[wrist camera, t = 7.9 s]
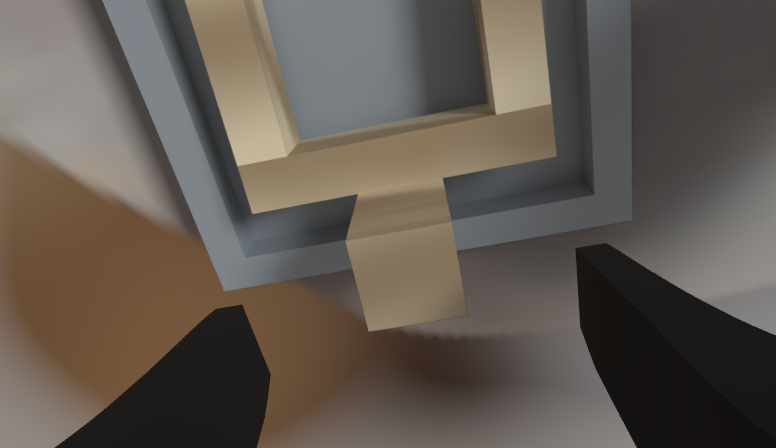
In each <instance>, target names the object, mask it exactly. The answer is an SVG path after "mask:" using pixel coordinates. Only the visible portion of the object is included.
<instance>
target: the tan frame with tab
mask: <svg viewBox="0 0 776 448" xmlns="http://www.w3.org/2000/svg"><path fill="white" fill-rule="evenodd" d="M185 3H186V6H187V9H188V12H189V15H190V18H191V21H192V25H193V28H194V31H195V34H196V37H197V40H198V44H199V47H200V50H201V53H202V56H203V59H204V62H205V66H206V69H207V72H208V75H209V78H210V81H211V85H212V88H213V91H214V94H215V97H216V100H217V104H218V107H219V110H220V113H221V116H222V119H223V122H224V126H225V129H226V132H227V135H228V138H229V141H230V145H231V148H232V151H233V154H234V157H235V160H236V163H237V167H238V170H239V173H240V176H241V179H242V182H243V186H244V189H245V192H246V195H247V198H248V201H249V204H250V208H251V211H252V214H255V213H260V212H266V211H271V210H276V209H282V208H287V207H292V206H298V205H303V204H308V203H313V202H319V201H324V200H329V199H335V198H340V197H345V196H350V195H356V194H358V197H357V200H356V204H355V208H354V211H353V215H352V219H351V223H350V226H349V230H348V234H347V237H346V245H347V249H348V253H349V257H350V261H351V265H352V269H353V273H354V276H355V280H356V284H357V288H358V292H359V296H360V300H361V304H362V308H363V312H364V315H365V319H366V323H367V327H368V331H369V332H370V331H376V330H382V329H389V328H395V327H401V326H407V325H413V324H420V323H426V322H432V321H438V320H444V319H451V318H457V317H463V316H468V311H467V306H466V300H465V295H464V289H463V283H462V278H461V272H460V267H459V261H458V255H457V250H456V244H455V239H454V233H453V227H452V222H451V217H450V212H449V207H448V202H447V197H446V192H445V187H444V182H443V178H446V177H451V176H456V175H461V174H467V173H472V172H477V171H483V170H488V169H493V168H498V167H504V166H509V165H514V164H520V163H525V162H530V161H536V160H541V159H546V158H551V157H557V155H556V145H555V135H554V125H553V115H552V105H551V95H550V85H549V75H548V65H547V55H546V45H545V35H544V25H543V15H542V5H541V0H472V4H473V11H474V18H475V25H476V32H477V39H478V46H479V53H480V60H481V67H482V74H483V81H484V88H485V95H486V102H487V103H484V104H479V105H474V106H469V107H464V108H460V109H455V110H450V111H445V112H440V113H435V114H430V115H425V116H420V117H415V118H410V119H405V120H400V121H395V122H390V123H385V124H380V125H375V126H370V127H366V128H361V129H356V130H351V131H346V132H341V133H336V134H331V135H326V136H321V137H316V138H311V139H306V140H301V141H300V139H299V135H298V132H297V128H296V124H295V121H294V117H293V113H292V110H291V106H290V102H289V98H288V95H287V91H286V87H285V84H284V80H283V76H282V73H281V69H280V65H279V61H278V58H277V54H276V50H275V47H274V43H273V39H272V36H271V32H270V28H269V24H268V21H267V17H266V13H265V10H264V6H263V2H262V0H185Z"/></svg>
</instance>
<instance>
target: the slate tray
mask: <svg viewBox="0 0 776 448" xmlns="http://www.w3.org/2000/svg"><path fill="white" fill-rule="evenodd" d="M102 1H103V4H104V6H105V8H106V11H107V13H108V16H109V18H110V20H111V23H112V25H113V27H114V30H115V32H116V35H117V37H118V39H119V42H120V44H121V47H122V49H123V51H124V54H125V56H126V58H127V61H128V63H129V66H130V68H131V70H132V73H133V75H134V77H135V80H136V82H137V85H138V87H139V89H140V92H141V94H142V97H143V99H144V101H145V104H146V106H147V108H148V111H149V113H150V116H151V118H152V120H153V123H154V125H155V128H156V130H157V132H158V135H159V137H160V139H161V142H162V144H163V147H164V149H165V151H166V154H167V156H168V159H169V161H170V163H171V166H172V168H173V170H174V173H175V175H176V178H177V180H178V182H179V185H180V187H181V189H182V192H183V194H184V197H185V199H186V201H187V204H188V206H189V209H190V211H191V213H192V216H193V218H194V220H195V223H196V225H197V228H198V230H199V232H200V235H201V237H202V240H203V242H204V244H205V247H206V249H207V251H208V254H209V256H210V258H211V261H212V263H213V266H214V268H215V270H216V273H217V275H218V278H219V280H220V282H221V285H222V287H223V289H224V291H230V290H236V289H242V288H247V287H253V286H259V285H264V284H270V283H276V282H282V281H288V280H294V279H299V278H305V277H311V276H317V275H322V274H328V273H334V272H340V271H345V270H351V269H352V265H351V261H350V257H349V253H348V249H347V245H346V237H347V234H348V230H349V226H350V223H351V219H352V215H353V211H354V208H355V204H356V200H357V197H358V194H356V195H350V196H345V197H340V198H335V199H329V200H324V201H319V202H313V203H308V204H303V205H298V206H292V207H287V208H282V209H276V210H271V211H266V212H260V213H255V214H252V211H251V208H250V204H249V201H248V198H247V195H246V192H245V189H244V186H243V182H242V179H241V176H240V173H239V170H238V167H237V163H236V160H235V157H234V154H233V151H232V148H231V145H230V141H229V138H228V135H227V132H226V129H225V126H224V122H223V119H222V116H221V113H220V110H219V107H218V104H217V100H216V97H215V94H214V91H213V88H212V85H211V81H210V78H209V75H208V72H207V69H206V66H205V62H204V59H203V56H202V53H201V50H200V47H199V44H198V40H197V37H196V34H195V31H194V28H193V25H192V21H191V18H190V15H189V12H188V9H187V6H186V3H185V0H102ZM262 2H263V6H264V10H265V13H266V17H267V21H268V24H269V28H270V32H271V36H272V39H273V43H274V47H275V50H276V54H277V58H278V61H279V65H280V69H281V73H282V76H283V80H284V84H285V87H286V91H287V95H288V98H289V102H290V106H291V110H292V113H293V117H294V121H295V124H296V128H297V132H298V135H299V139H300V141H301V140H306V139H311V138H316V137H321V136H326V135H331V134H336V133H341V132H346V131H351V130H356V129H361V128H366V127H370V126H375V125H380V124H385V123H390V122H395V121H400V120H405V119H410V118H415V117H420V116H425V115H430V114H435V113H440V112H445V111H450V110H455V109H460V108H464V107H469V106H474V105H479V104H484V103H487V102H486V95H485V88H484V81H483V74H482V67H481V60H480V53H479V46H478V39H477V32H476V25H475V18H474V11H473V4H472V0H262ZM541 5H542V15H543V25H544V35H545V45H546V55H547V65H548V75H549V85H550V95H551V105H552V115H553V125H554V135H555V145H556V155H557V157H551V158H546V159H541V160H536V161H530V162H525V163H520V164H514V165H509V166H504V167H498V168H493V169H488V170H483V171H477V172H472V173H467V174H461V175H456V176H451V177H446V178H443V182H444V187H445V192H446V197H447V202H448V207H449V212H450V217H451V222H452V227H453V233H454V239H455V244H456V250H457V251H460V250H466V249H472V248H477V247H483V246H489V245H495V244H500V243H506V242H512V241H518V240H523V239H529V238H535V237H541V236H546V235H552V234H558V233H563V232H569V231H575V230H581V229H586V228H592V227H598V226H604V225H609V224H615V223H621V222H627V221H632V78H631V0H541Z"/></svg>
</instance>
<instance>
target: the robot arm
mask: <svg viewBox="0 0 776 448" xmlns="http://www.w3.org/2000/svg"><path fill="white" fill-rule="evenodd" d="M576 264H577V280H578V296H579V312H580V327H581V330H582V333H583V336H584V338H585V341H586V343H587V347H588V349H589V352H590V355H591V357H592V360H593V363H594V365H595V368H596V370H597V372H598V374H599V376H600V378H601V380H602V382H603V384H604V386H605V388H606V390H607V392H608V394H609V396H610V398H611V399H612V401H613V403H614V405H615V407H616V409H617V411H618V413H619V415H620V417H621V418H622V420H623V422H624V424H625V426H626V428H627V430H628V432H629V434H630V436H631V437H632V439H633V441H634V443H635V445H636V447H637V448H776V335H773V334H771V333H768V332H766V331H763V330H761V329H759V328H757V327H754V326H752V325H750V324H748V323H746V322H743V321H741V320H739V319H737V318H735V317H733V316H731V315H729V314H727V313H725V312H723V311H721V310H719V309H717V308H715V307H713V306H711V305H709V304H707V303H706V302H704V301H702V300H700V299H698V298H696V297H694V296H693V295H691V294H689V293H687V292H685V291H684V290H682V289H680V288H678V287H677V286H675V285H673V284H671V283H670V282H668V281H666V280H665V279H663V278H661V277H660V276H658V275H656V274H655V273H653V272H652V271H650V270H648V269H647V268H645V267H644V266H642V265H640V264H639V263H637V262H636V261H634V260H632V259H631V258H629V257H628V256H626V255H625V254H623V253H621V252H620V251H618V250H617V249H615V248H613V247H612V246H610V245H608V244H607V243H604V244H598V245H592V246H586V247H580V248H576ZM269 383H270V372H269V369H268V367H267V365H266V362H265V360H264V357H263V355H262V352H261V350H260V347H259V345H258V343H257V340H256V338H255V335H254V333H253V330H252V328H251V326H250V323H249V320H248V318H247V315H246V313H245V311H244V308H243V306H242V305H237V306H231V307H225V308H219V309H215V310H214V311H213V312H212V313H210V314H209V315H208V316H207V317H206V318H204V319H203V320H202V321H201V322H200V323H199V324H198V325H197V326H196V327H195V328H193V330H191V331H190V332H189V333H188V334H187V335H186V336H185V337H184V338H183V339H182V340H181V341H180V342H179V343H178V344H177V345H176V346H174V347H173V348H172V349H171V350H170V351H169V352H168V353H167V354H166V355H165V356H164V357H163V358H162V359H161V360H160V361H159V362H158V363H156V365H154V366H153V367H152V368H151V369H150V370H149V371H148V372H147V373H146V374H145V375H143V376H142V377H141V378H140V379H139V380H138V381H137V382H136V383H134V384H133V385H132V386H131V387H130V388H129V389H127V390H126V391H125V392H124V393H123V394H122V395H121V396H119V397H118V398H117V399H116V400H115V401H114V402H113V403H112V404H110V405H109V406H108V407H107V408H106V409H104V410H103V411H102V412H101V413H100V414H98V415H97V416H96V417H95V418H93V419H92V420H91V421H90V422H88V423H87V424H86V425H84V426H83V427H82V428H80V429H79V430H78V431H76V432H75V433H74V434H73V435H71V436H70V437H68V438H67V439H66V440H65V441H63V442H62V443H61V444H59V445H58V446H56V447H55V448H257V444H258V440H259V436H260V433H261V429H262V426H263V422H264V418H265V412H266V406H267V399H268V392H269Z"/></svg>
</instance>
